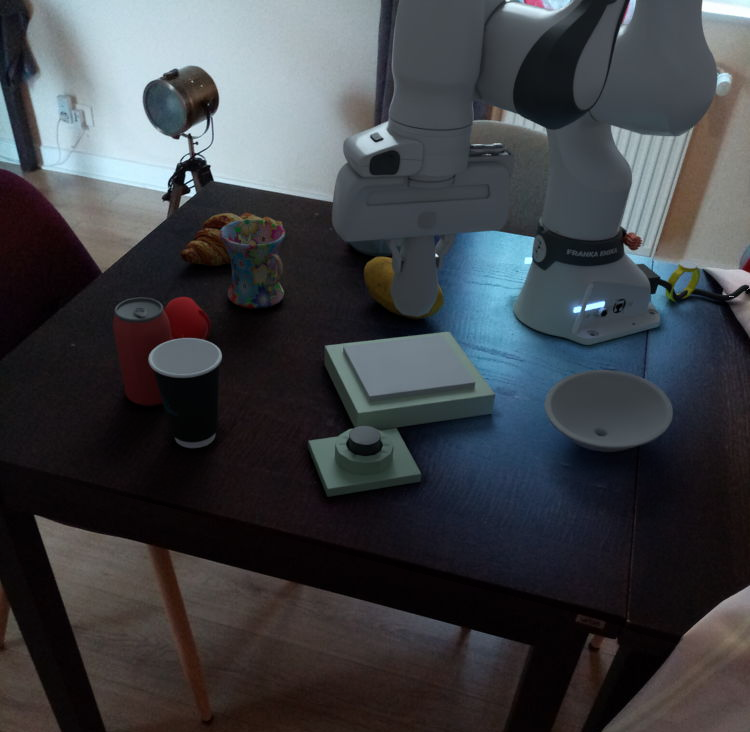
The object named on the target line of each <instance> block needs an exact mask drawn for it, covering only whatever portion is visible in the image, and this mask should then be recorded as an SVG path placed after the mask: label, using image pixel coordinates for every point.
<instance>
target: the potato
mask: <svg viewBox="0 0 750 732" xmlns="http://www.w3.org/2000/svg"><path fill="white" fill-rule="evenodd" d="M394 273H395V272H394V271H393V269H392V257H389V256H374V258H372V259H371V260H369V261H367V262H366V264H365V266H364V268H363V277H364V283H365V286H366V289H367V292H368V294H369V295H370V297H372V299H373V300H375V301H376V302H377V303H378V304H379V305H380V306H382V307H383V308H384V309H386V310H388V311H389V312H390V313H393V314H395V315H397V316H400V317H404V318H408V319H411V320H420V319H425V318H429V317H431V316H433V315H435V314H437V313H438V312H439V311H440V310H441V308H443V306H444V294H443V289H442V288H441V286H440V284H439V283H438V287H439V292H438V296H437V299H436V301H435V303H434V305H433V306H432V308H431V310H430V312H429V313H427V314H424V315H421V316H419V317H415V316H409V315H403V314H402V313H401V312H400V311H399V310H398V309H397V308H396V307H395V304H394V301H393V299H392V296H391V292H390V288H391V284H392V280H393V276H394Z"/></svg>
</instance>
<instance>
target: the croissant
mask: <svg viewBox="0 0 750 732" xmlns="http://www.w3.org/2000/svg"><path fill="white" fill-rule="evenodd" d="M246 219H259V220H266V221H270V222H274V223H276V224H278V225H280V226H281V227H282V228H283V229H284V225H283V222H282V220H274V219H273V218H271V217H269V216H264V217H263V218H262V217H260V216H256V215H255V214H252V213H251V212H245V213H243V214H241V215H240V216H238V215H236V214H234V213H232V212H225V213H219V214H215V215H213V216H211V217H209V218H208V219H207V220H206V221H204V222H203V224H202V227H201V230H198V231H197V232H196V233H195V235H194V237H193V240H191V241H190V242H189V243H187V244H186V246H185V247H184V249H183V250H181V251H180V257H181V258H182V260H183V261H185V262H186V263H189V264H194V265H204V266H209V267H211V266H212V267H220V266H222V265H227V264H229V265H231V260H230V257H229V253H228V251H227V248H226V246H225V244H224V242H223V240H222V238H221V236H220V231H221V229H222V228H223V227H224V226H225V225H227V224H229V223H231V222H234V221H238V220H246Z"/></svg>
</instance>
